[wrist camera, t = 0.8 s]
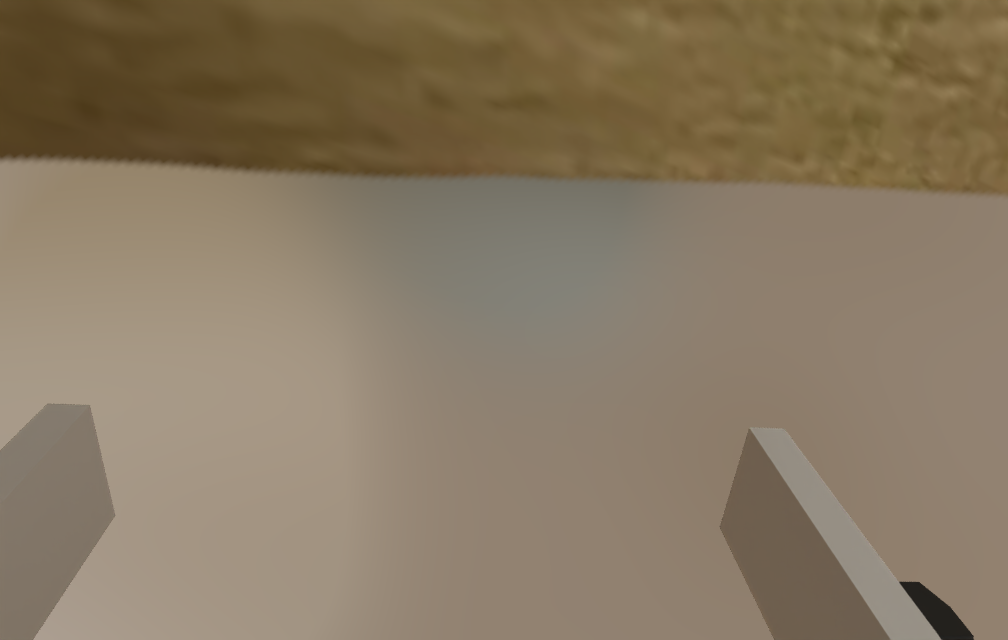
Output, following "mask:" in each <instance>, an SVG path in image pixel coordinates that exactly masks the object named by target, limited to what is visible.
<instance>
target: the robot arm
mask: <svg viewBox="0 0 1008 640" xmlns="http://www.w3.org/2000/svg"><path fill="white" fill-rule="evenodd" d="M114 516H115V513H114V509H113V504H112V500H111V496H110V491H109V487H108V483H107V478H106V474H105V469H104V465H103V461H102V456H101V452H100V448H99V443H98V439H97V435H96V430H95V426H94V422H93V417H92V413H91V408H90V406H89V405H67V404H47V405H46V406H45V407H44V408H43V409H42V410H41V411H40V412H39V413H38V414H37V415H36V416H35V417H34V418H33V419H32V420H31V421H30V422H29V423H28V424H27V425H26V426H25V427H24V428H23V429H22V430H21V431H20V432H19V433H18V434H17V435H16V436H15V437H14V438H13V439H11V441H9V442H8V443H7V444H6V445H5V446H4V447H3V448H2V449H1V450H0V640H33V639H34V637H35V636H36V634H37V633H38V631H39V630H40V628H41V627H42V625H43V624H44V622H45V621H46V619H47V618H48V616H49V615H50V613H51V612H52V610H53V609H54V607H55V605H56V604H57V603H58V601H59V600H60V598H61V596H62V595H63V593H64V592H65V591H66V589H67V587H68V586H69V584H70V583H71V581H72V580H73V578H74V577H75V575H76V574H77V572H78V571H79V569H80V568H81V566H82V565H83V563H84V562H85V560H86V559H87V557H88V556H89V554H90V553H91V551H92V549H93V548H94V547H95V545H96V544H97V542H98V541H99V539H100V538H101V536H102V535H103V533H104V532H105V530H106V529H107V527H108V525H109V524H110V523H111V521H112V520H113V518H114ZM720 529H721V531H722V533H723V535H724V537H725V539H726V541H727V544H728V546H729V548H730V550H731V552H732V554H733V556H734V558H735V560H736V562H737V564H738V566H739V568H740V570H741V572H742V574H743V576H744V578H745V581H746V582H747V585H748V586H749V589H750V591H751V593H752V595H753V597H754V599H755V601H756V603H757V605H758V607H759V609H760V611H761V613H762V615H763V618H764V619H765V622H766V624H767V626H768V628H769V630H770V632H771V634H772V636H773V638H774V640H974V639H973V637H974V636H973V635H972V634H971V632H970V631H969V630H968V629H967V628H966V626H965V625H964V624H963V622H962V621H961V620H960V619H959V618H958V616H957V615H956V614H955V612H954V611H953V610H952V609H951V607H949V606H948V605H947V604H946V603H944V602H943V601H942V600H940V598H938V597H937V596H936V595H935V594H933V593H932V592H931V591H929V590H928V589H927V588H926V587H925V586H923V585H922V584H921V583H920V582H898V581H897V579H896V578H895V576H894V575H893V574H892V572H891V571H890V570H889V569H888V567H887V566H886V564H885V563H884V562H883V560H882V559H881V558H880V556H879V555H878V554H877V552H876V551H875V550H874V548H873V547H872V546H871V544H870V543H869V542H868V541H867V539H866V538H865V537H864V535H863V534H862V532H861V531H860V530H859V528H858V527H857V526H856V524H855V523H854V521H853V520H852V519H851V518H850V516H849V515H848V513H847V512H846V511H845V509H844V508H843V507H842V505H841V504H840V503H839V502H838V500H837V499H836V497H835V496H834V495H833V493H832V492H831V491H830V489H829V488H828V487H827V485H826V484H825V483H824V481H823V480H822V479H821V477H820V476H819V475H818V473H817V472H816V471H815V469H814V468H813V467H812V465H811V464H810V462H809V461H808V460H807V458H806V457H805V456H804V454H803V453H802V452H801V450H800V449H799V448H798V447H797V445H796V444H795V442H794V441H793V440H792V438H791V437H790V436H789V434H788V433H787V432H786V430H785V429H779V428H749V430H748V433H747V437H746V441H745V444H744V447H743V451H742V454H741V457H740V460H739V464H738V467H737V471H736V474H735V477H734V481H733V484H732V487H731V491H730V494H729V498H728V501H727V504H726V508H725V511H724V514H723V518H722V521H721V525H720Z"/></svg>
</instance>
